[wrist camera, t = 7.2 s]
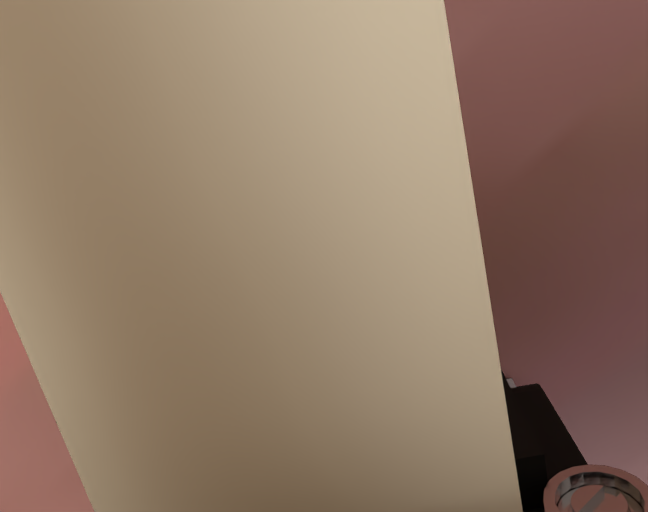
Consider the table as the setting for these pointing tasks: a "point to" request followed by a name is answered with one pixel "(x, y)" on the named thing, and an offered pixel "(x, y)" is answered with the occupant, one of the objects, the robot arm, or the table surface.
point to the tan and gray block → (251, 255)
